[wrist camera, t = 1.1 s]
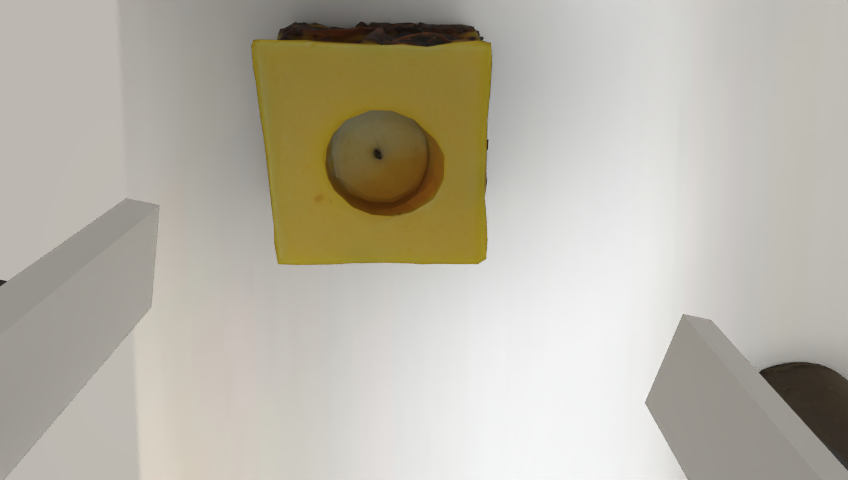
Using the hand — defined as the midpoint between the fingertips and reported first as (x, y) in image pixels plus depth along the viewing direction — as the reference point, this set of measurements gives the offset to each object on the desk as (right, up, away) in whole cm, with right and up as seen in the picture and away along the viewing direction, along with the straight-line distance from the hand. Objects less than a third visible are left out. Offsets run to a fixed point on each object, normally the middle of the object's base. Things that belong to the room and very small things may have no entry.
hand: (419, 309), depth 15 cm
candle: (-2, +9, +21) cm, 23 cm away
